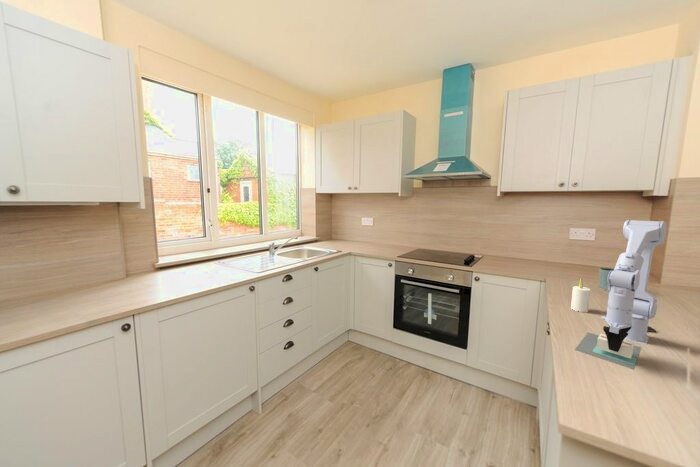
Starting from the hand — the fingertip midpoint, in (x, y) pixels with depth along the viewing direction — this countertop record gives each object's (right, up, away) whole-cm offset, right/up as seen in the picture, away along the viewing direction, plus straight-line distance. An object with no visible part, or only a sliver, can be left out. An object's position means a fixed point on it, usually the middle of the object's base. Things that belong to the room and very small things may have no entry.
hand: (615, 347), depth 88 cm
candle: (+22, +1, +40) cm, 45 cm away
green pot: (+65, +4, +70) cm, 96 cm away
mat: (+2, -3, +4) cm, 5 cm away
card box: (0, -1, 0) cm, 1 cm away
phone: (+31, -1, +25) cm, 40 cm away
